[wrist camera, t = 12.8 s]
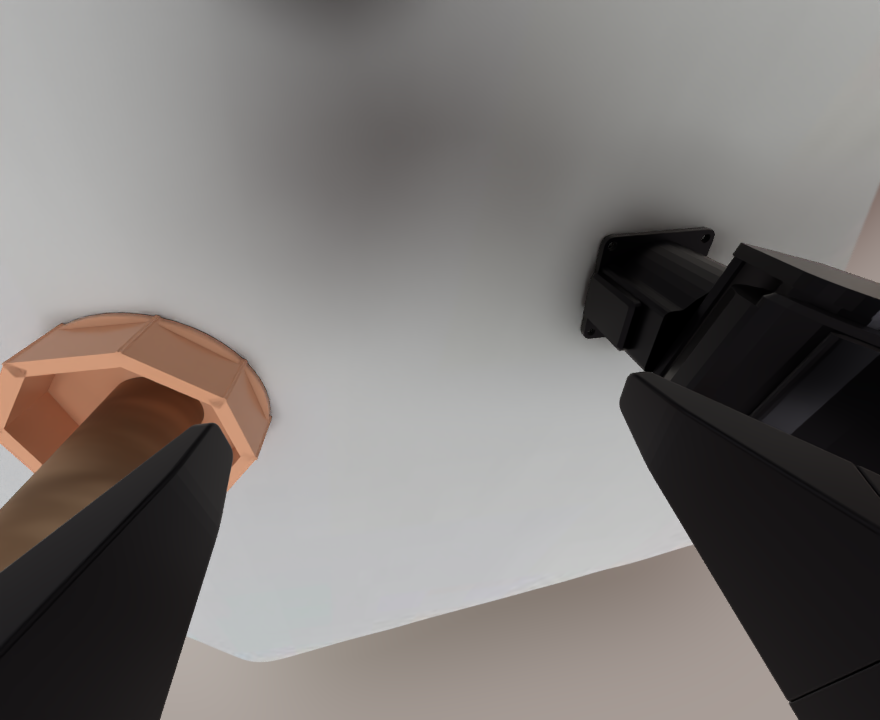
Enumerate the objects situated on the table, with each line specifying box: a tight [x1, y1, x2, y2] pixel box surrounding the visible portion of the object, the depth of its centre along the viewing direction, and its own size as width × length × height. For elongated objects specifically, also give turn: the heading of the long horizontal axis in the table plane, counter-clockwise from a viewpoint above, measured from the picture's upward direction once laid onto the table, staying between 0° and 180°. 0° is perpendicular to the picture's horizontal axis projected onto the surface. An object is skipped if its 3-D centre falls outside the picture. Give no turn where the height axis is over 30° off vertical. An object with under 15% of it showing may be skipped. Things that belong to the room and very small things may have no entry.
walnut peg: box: [0, 377, 204, 572], centre depth 17 cm, size 5×5×13 cm
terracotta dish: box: [0, 313, 272, 491], centre depth 21 cm, size 12×12×4 cm
